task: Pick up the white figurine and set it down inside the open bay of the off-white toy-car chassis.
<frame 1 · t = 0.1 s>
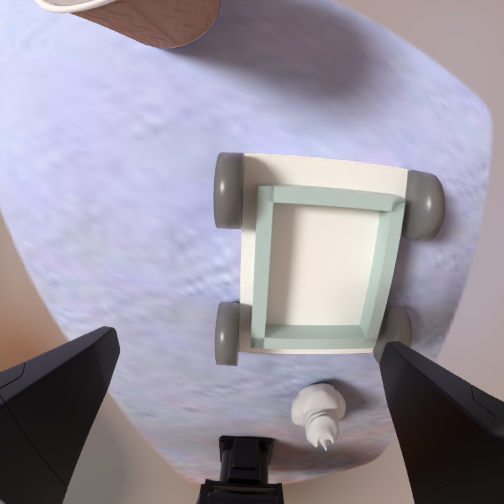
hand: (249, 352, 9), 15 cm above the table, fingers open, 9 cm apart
white figurine: (315, 394, 28), on the table
coffee cup: (176, 14, 17), on the table
toy chassis: (318, 261, 23), on the table
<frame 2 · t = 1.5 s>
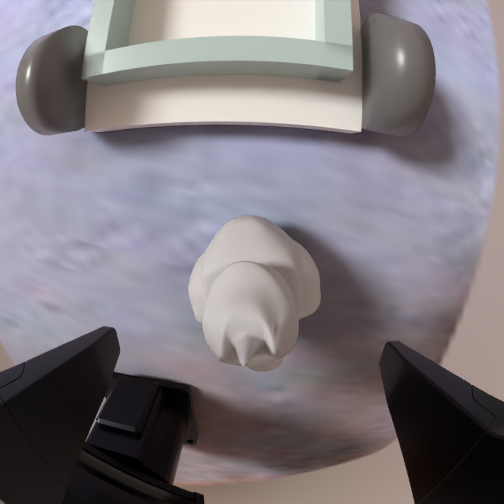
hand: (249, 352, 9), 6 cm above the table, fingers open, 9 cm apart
white figurine: (256, 272, 15), on the table
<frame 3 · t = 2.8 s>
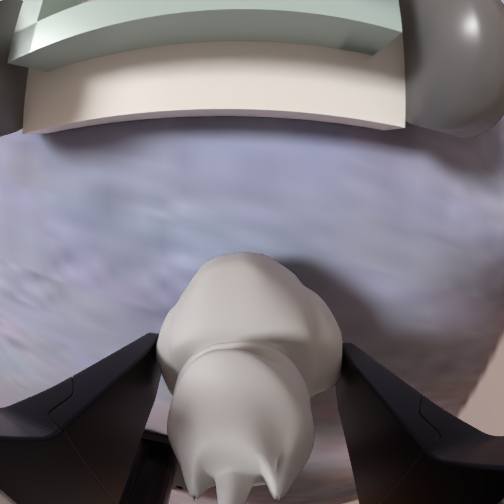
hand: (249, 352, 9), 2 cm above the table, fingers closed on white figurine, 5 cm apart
white figurine: (252, 319, 11), on the table, touching gripper
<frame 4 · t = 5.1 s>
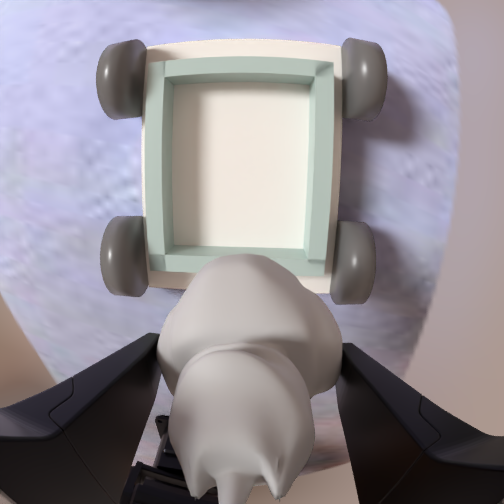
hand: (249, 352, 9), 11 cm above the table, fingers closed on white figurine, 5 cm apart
white figurine: (252, 319, 11), point 9 cm above the table, touching gripper
toy chassis: (240, 163, 18), on the table
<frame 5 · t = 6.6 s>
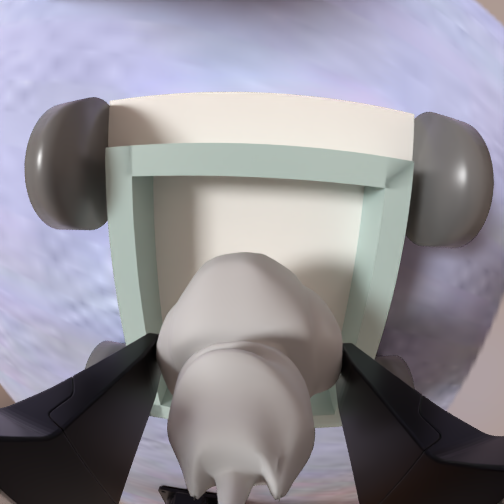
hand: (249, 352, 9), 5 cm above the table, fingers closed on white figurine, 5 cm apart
white figurine: (252, 319, 11), point 3 cm above the table, touching gripper
toy chassis: (254, 282, 14), on the table
when the fingers open (5 cm above the table, at t = 7.5 s): white figurine drops 1 cm, resting on toy chassis.
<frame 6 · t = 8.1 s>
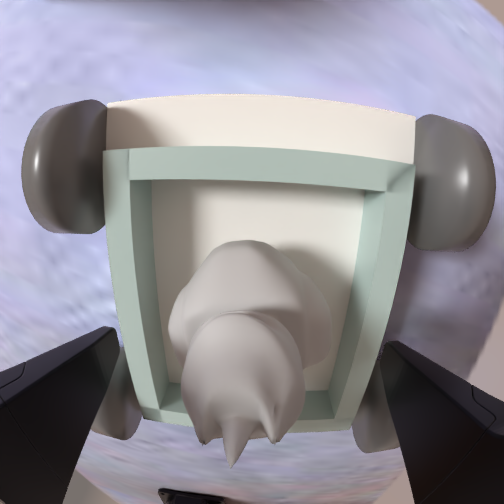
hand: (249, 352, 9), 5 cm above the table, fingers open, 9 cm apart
white figurine: (253, 302, 12), point 1 cm above the table, touching toy chassis
toy chassis: (253, 286, 13), on the table
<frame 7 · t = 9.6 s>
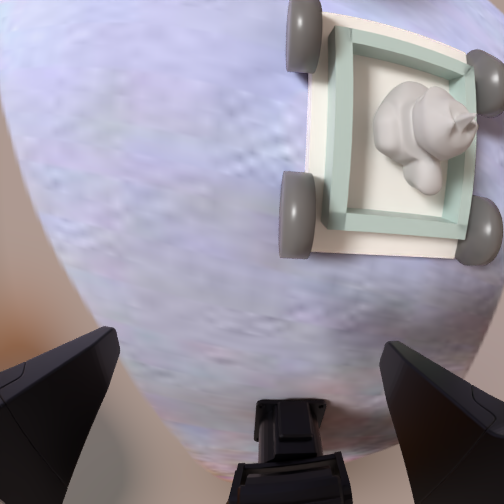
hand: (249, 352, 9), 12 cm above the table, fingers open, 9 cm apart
white figurine: (400, 137, 16), point 1 cm above the table, touching toy chassis
toy chassis: (391, 136, 18), on the table
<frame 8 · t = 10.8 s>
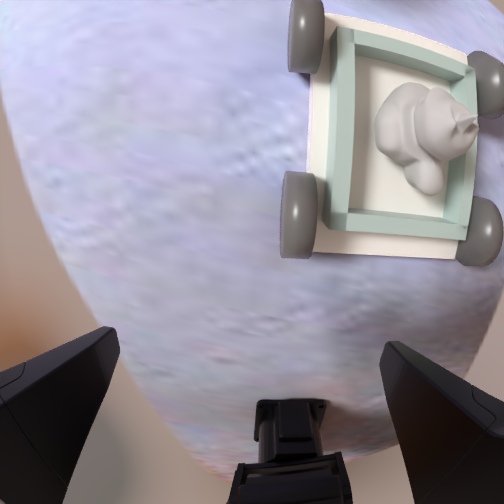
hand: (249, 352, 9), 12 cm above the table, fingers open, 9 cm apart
white figurine: (401, 138, 16), point 1 cm above the table, touching toy chassis
toy chassis: (393, 137, 18), on the table
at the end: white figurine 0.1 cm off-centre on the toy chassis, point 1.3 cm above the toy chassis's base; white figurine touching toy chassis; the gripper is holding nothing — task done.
